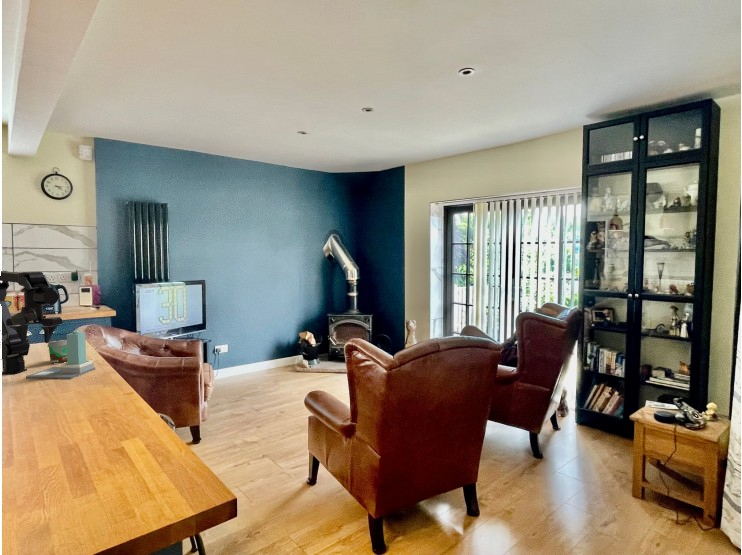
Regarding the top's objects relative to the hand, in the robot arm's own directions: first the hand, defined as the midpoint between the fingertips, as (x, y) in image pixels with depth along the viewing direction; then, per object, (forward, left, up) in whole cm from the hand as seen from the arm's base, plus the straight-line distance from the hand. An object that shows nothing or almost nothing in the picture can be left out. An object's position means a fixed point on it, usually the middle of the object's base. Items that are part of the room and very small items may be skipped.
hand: (35, 343), depth 173 cm
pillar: (+13, +5, -10) cm, 17 cm away
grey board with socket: (+8, +3, -13) cm, 16 cm away
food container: (-5, +22, -13) cm, 26 cm away
